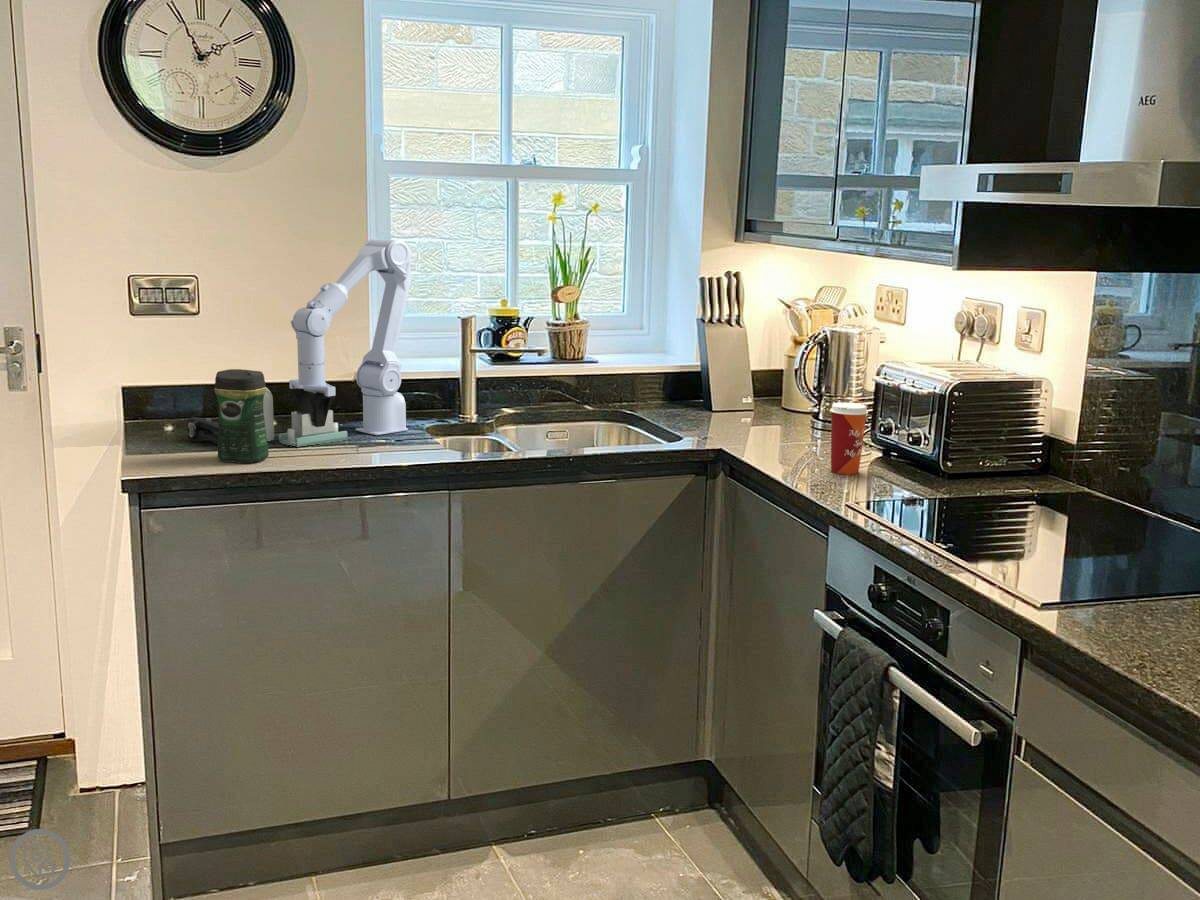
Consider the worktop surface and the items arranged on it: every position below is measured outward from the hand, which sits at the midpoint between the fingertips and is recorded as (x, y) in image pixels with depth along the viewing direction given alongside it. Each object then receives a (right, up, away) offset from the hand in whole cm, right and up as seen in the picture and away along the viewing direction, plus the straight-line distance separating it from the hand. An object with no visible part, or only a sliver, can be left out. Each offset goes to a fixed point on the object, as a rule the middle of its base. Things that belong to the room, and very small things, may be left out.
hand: (313, 424), depth 256 cm
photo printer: (-13, -3, +3) cm, 14 cm away
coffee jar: (-10, -8, -18) cm, 22 cm away
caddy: (0, -4, +1) cm, 4 cm away
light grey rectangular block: (0, -3, +1) cm, 3 cm away
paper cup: (+114, -10, -15) cm, 115 cm away
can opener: (-20, -5, -4) cm, 21 cm away
